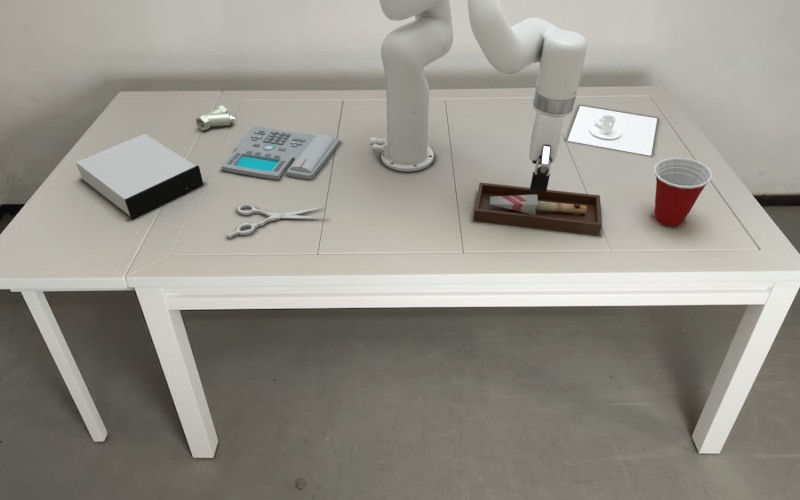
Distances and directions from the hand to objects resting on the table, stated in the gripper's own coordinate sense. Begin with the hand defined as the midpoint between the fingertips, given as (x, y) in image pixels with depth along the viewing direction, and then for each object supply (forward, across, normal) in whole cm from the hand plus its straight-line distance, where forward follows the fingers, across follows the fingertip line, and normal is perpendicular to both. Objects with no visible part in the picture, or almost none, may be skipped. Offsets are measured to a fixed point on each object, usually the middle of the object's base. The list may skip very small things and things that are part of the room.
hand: (539, 176), depth 130 cm
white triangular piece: (+9, -40, +19) cm, 45 cm away
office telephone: (+11, -11, -60) cm, 62 cm away
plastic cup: (+8, -3, +28) cm, 29 cm away
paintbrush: (+8, 0, +1) cm, 8 cm away
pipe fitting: (+12, -22, -81) cm, 85 cm away
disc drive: (+12, +6, -87) cm, 88 cm away
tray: (+9, 0, +1) cm, 9 cm away
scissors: (+10, +13, -52) cm, 55 cm away
